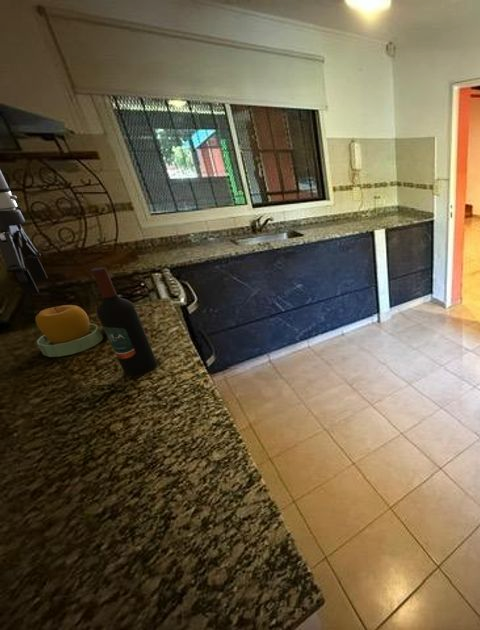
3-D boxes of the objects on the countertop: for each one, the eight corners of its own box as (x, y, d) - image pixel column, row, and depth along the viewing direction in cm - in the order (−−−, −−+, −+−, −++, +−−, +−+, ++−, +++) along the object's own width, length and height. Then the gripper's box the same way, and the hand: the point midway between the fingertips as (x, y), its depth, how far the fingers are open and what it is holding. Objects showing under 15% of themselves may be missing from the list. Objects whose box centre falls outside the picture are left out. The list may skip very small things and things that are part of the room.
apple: (100, 332, 115) (83, 297, 110) (94, 346, 107) (75, 309, 101) (56, 341, 110) (36, 304, 104) (46, 356, 102) (24, 318, 96)
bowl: (30, 359, 102) (22, 346, 100) (71, 335, 114) (65, 323, 112) (79, 358, 102) (72, 345, 100) (114, 334, 115) (109, 323, 113)
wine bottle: (161, 369, 97) (121, 268, 84) (128, 381, 92) (80, 276, 79) (154, 359, 102) (114, 262, 88) (122, 370, 97) (75, 269, 83)
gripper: (6, 215, 82) (47, 296, 92) (28, 202, 100) (61, 271, 109) (-42, 218, 78) (6, 303, 88) (-10, 204, 96) (27, 276, 105)
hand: (36, 285), depth 98 cm, fingers open, 13 cm apart
